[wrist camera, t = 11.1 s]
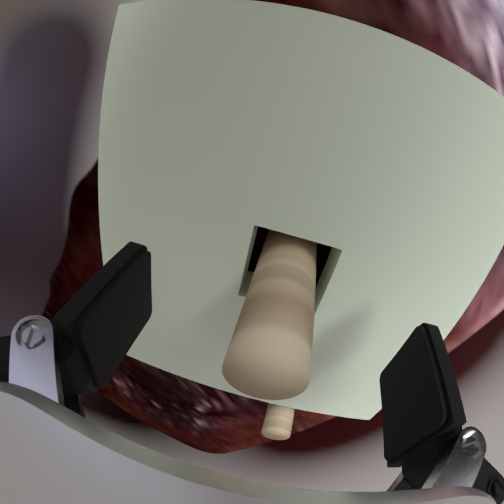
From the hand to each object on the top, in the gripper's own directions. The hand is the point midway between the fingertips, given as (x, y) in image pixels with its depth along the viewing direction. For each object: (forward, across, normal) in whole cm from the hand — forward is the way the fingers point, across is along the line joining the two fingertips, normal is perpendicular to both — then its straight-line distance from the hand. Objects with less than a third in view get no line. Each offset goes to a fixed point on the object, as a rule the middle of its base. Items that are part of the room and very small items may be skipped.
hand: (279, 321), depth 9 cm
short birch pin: (+9, -4, +17) cm, 20 cm away
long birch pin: (+9, 0, 0) cm, 9 cm away
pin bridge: (+9, 0, 0) cm, 9 cm away
